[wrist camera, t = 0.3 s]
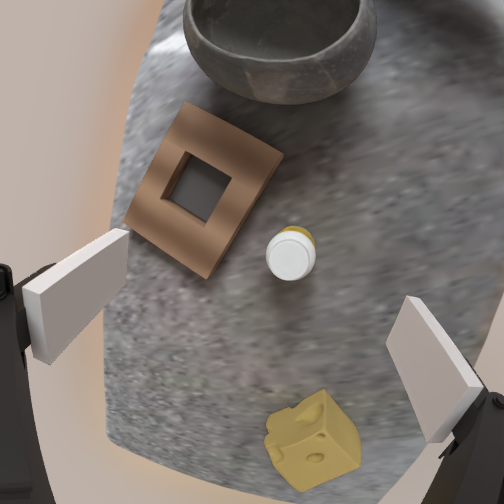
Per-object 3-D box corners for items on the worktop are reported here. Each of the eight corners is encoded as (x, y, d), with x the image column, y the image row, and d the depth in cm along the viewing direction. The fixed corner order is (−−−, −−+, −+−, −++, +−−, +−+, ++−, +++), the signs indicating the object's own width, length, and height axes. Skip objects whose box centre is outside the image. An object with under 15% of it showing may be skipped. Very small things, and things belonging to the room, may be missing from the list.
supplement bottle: (304, 273, 41) (301, 297, 32) (266, 256, 42) (252, 274, 33) (322, 235, 40) (325, 248, 31) (283, 217, 41) (274, 225, 31)
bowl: (246, -18, 35) (220, -81, 21) (383, 22, 33) (405, -40, 19) (190, 93, 40) (135, 54, 25) (335, 145, 38) (347, 118, 23)
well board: (193, 106, 40) (185, 101, 37) (284, 155, 39) (282, 152, 36) (133, 219, 45) (122, 222, 42) (213, 273, 44) (206, 279, 41)
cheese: (267, 414, 46) (256, 457, 37) (326, 383, 44) (327, 426, 34) (304, 451, 47) (299, 494, 37) (360, 425, 44) (366, 469, 34)
